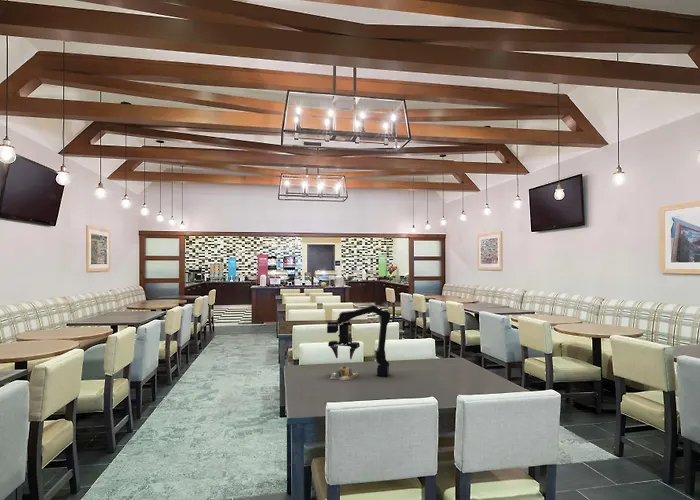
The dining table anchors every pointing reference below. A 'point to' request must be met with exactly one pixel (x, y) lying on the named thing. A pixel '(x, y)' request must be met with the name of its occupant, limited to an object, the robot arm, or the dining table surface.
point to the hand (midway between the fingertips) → (343, 358)
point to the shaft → (336, 374)
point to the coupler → (344, 370)
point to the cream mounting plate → (350, 376)
